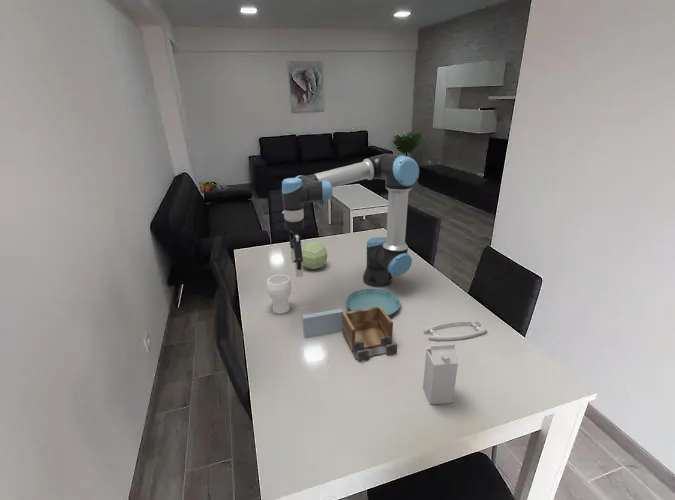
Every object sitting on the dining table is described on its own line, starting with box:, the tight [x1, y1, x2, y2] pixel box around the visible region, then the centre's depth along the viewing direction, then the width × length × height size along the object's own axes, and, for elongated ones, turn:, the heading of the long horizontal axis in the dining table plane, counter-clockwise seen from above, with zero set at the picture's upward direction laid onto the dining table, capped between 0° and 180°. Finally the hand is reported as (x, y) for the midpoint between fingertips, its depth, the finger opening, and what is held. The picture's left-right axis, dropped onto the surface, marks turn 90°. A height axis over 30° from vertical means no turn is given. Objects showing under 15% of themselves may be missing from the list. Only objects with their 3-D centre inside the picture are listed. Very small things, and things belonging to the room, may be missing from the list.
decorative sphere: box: [301, 241, 328, 270], centre depth 197 cm, size 15×15×15 cm
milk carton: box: [422, 343, 459, 405], centre depth 106 cm, size 7×7×19 cm
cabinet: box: [342, 306, 398, 363], centre depth 133 cm, size 16×18×10 cm
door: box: [301, 308, 344, 339], centre depth 140 cm, size 16×2×9 cm, turn 106°
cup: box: [266, 274, 292, 315], centre depth 156 cm, size 11×11×15 cm
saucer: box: [345, 288, 401, 317], centre depth 158 cm, size 24×24×3 cm
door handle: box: [423, 320, 488, 342], centre depth 139 cm, size 3×10×25 cm
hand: (297, 269), depth 143 cm, fingers open, 13 cm apart
